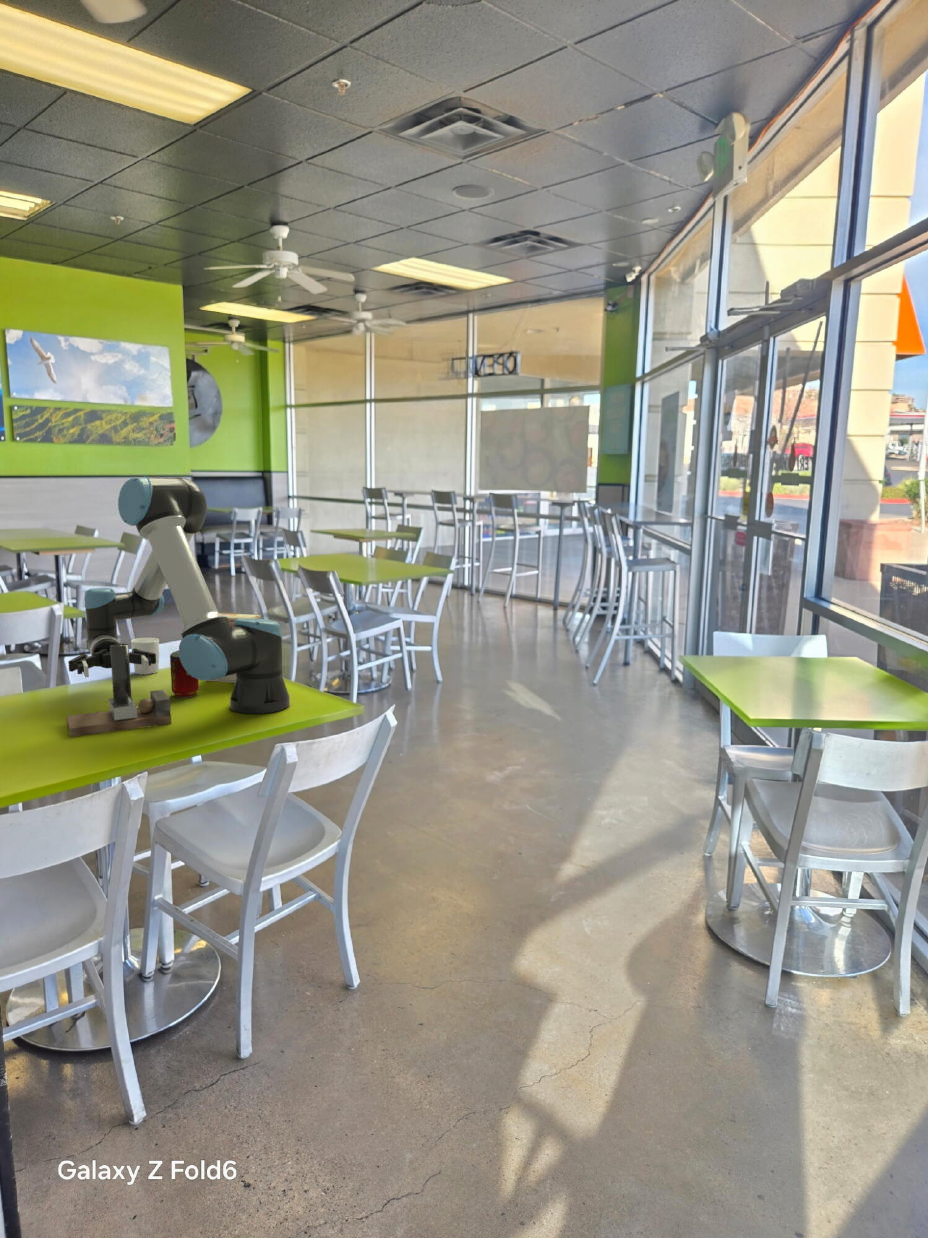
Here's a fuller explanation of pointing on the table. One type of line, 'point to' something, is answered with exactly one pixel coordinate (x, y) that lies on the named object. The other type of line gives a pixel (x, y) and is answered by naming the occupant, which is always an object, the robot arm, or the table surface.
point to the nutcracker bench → (100, 722)
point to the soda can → (182, 678)
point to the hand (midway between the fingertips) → (117, 668)
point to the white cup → (147, 646)
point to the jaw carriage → (121, 684)
